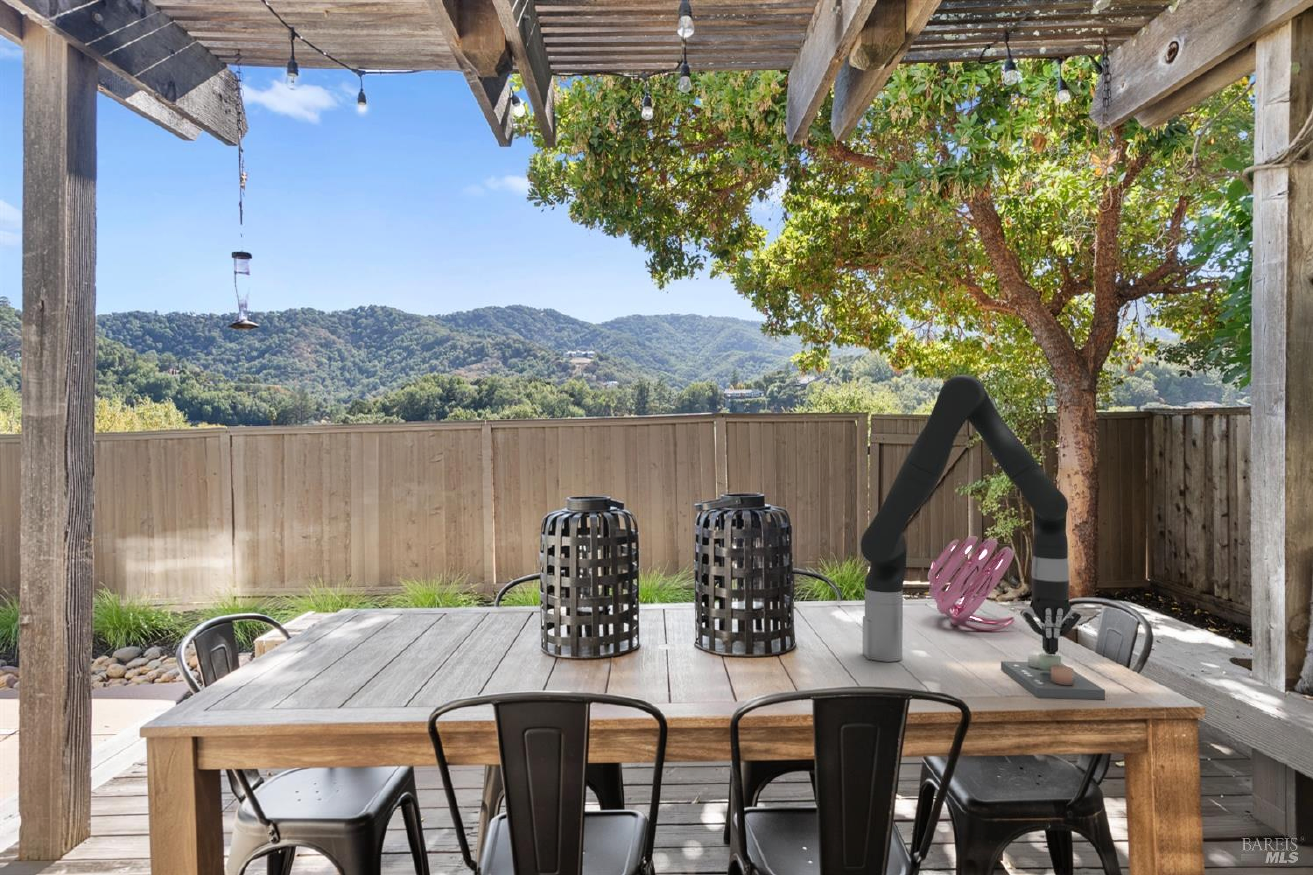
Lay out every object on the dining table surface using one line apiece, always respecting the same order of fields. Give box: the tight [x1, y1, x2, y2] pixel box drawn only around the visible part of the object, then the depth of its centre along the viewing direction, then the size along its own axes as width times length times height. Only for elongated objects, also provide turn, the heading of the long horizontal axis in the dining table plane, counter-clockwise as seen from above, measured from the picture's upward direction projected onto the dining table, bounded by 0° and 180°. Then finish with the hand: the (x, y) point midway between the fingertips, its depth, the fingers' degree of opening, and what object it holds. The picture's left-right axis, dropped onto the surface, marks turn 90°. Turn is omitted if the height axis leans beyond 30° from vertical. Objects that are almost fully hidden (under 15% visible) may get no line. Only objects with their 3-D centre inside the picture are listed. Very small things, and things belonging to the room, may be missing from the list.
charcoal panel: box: [1000, 660, 1106, 701], centre depth 171 cm, size 14×20×2 cm
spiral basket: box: [927, 535, 1016, 632], centre depth 225 cm, size 28×28×27 cm
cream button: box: [1027, 649, 1046, 668], centre depth 177 cm, size 4×4×3 cm
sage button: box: [1039, 653, 1062, 672], centre depth 171 cm, size 4×4×3 cm
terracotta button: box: [1051, 665, 1075, 685], centre depth 165 cm, size 4×4×3 cm
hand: (1050, 653), depth 171 cm, fingers closed
